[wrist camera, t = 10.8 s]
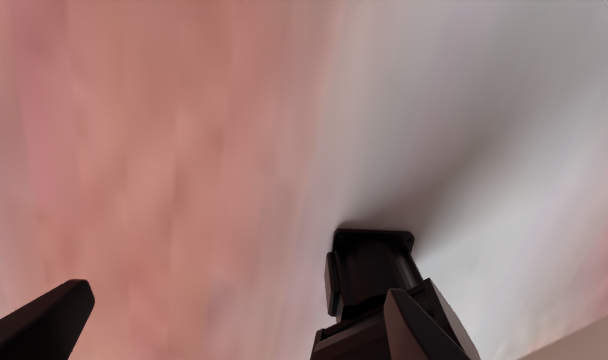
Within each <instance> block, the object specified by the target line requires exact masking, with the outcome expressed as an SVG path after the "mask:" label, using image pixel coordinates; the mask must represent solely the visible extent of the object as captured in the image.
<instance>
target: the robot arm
mask: <svg viewBox="0 0 608 360" xmlns="http://www.w3.org/2000/svg"><path fill="white" fill-rule="evenodd" d="M338 235H342V236H341V237H338ZM407 237H409V238H408V239H406V238H407ZM414 240H415V238H414V236H413V234H412V233H411V232H408V231H380V230H351V229H338V230H336V231H335V232H334V234H333V243H332V252H328V253H327V256H326V265H325V274H324V277H325V288H326V298H327V309H328V314H329V315H330V316H332V317H336V322H337V324H335V325H332V326H330V327H328V328H326V329H324V328H323V329H321V330H318V331H317V332H316V336H315V340H314V345H313V349H312V353H311V358H310V360H481V359H480V356H479V353H478V351H477V349H476V347H475V346H474V344H473V342H472V341H471V339H470V337H469V335H468V334H467V332H466V330H465V328H464V327H463V325H462V323H461V322H460V320H459V318H458V317H457V315H456V314H455V312H454V311H453V310H452V308H451V307H450V305H449V304H448V303H447V301H446V300H445V298H444V297H443V296H442V294H441V293H440V291H439V290H438V289H437V287H436V286H435V284H434V283H433V282H432V280H431V279H430V278H427V279H425V280H423V278H422V276H421V274H420V272H419V270H418V268H417V266H416V264H415V262H414V260H413V258H412V256H411V251H412V247H413V244H414ZM94 304H95V298H94V295H93V292H92V290H91V287H90V285H89V282H88V281H87V280H84V279H71V280H68V281H66V282H65V283H63V284H61V285H59V286H58V287H56V288H54V289H52V290H51V291H49V292H47V293H45V294H44V295H42V296H40V297H38V298H37V299H35V300H33V301H31V302H30V303H28V304H26V305H24V306H23V307H21V308H19V309H17V310H16V311H14V312H12V313H10V314H9V315H7V316H5V317H3V318H2V319H0V360H68V358H69V356H70V354H71V352H72V350H73V348H74V346H75V344H76V342H77V340H78V338H79V336H80V334H81V332H82V330H83V328H84V326H85V324H86V322H87V320H88V318H89V316H90V314H91V312H92V310H93V307H94Z"/></svg>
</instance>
